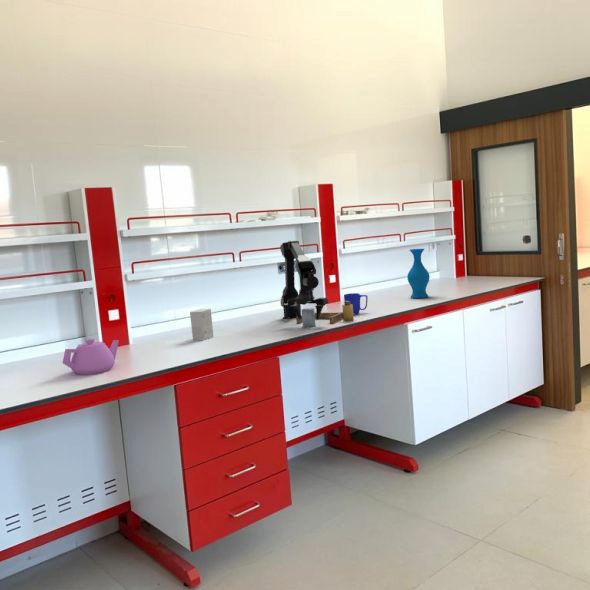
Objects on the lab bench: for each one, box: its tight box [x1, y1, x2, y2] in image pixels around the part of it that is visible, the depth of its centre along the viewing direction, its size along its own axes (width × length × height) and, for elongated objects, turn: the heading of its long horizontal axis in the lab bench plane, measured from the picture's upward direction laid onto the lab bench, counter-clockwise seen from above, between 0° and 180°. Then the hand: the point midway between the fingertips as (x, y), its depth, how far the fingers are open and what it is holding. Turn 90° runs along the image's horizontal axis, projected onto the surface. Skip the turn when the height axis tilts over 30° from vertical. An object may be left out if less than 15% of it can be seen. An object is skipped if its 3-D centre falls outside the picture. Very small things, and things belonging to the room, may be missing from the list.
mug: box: [343, 292, 369, 315], centre depth 313 cm, size 8×12×10 cm
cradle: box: [295, 311, 343, 325], centre depth 299 cm, size 19×14×3 cm
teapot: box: [62, 338, 120, 376], centre depth 227 cm, size 22×16×12 cm
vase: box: [407, 248, 431, 299], centre depth 352 cm, size 12×13×28 cm
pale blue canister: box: [301, 307, 316, 328], centre depth 288 cm, size 6×9×8 cm
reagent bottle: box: [341, 300, 355, 322], centre depth 294 cm, size 5×5×9 cm
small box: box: [189, 308, 214, 341], centre depth 276 cm, size 8×6×13 cm
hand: (308, 319), depth 287 cm, fingers open, 9 cm apart
